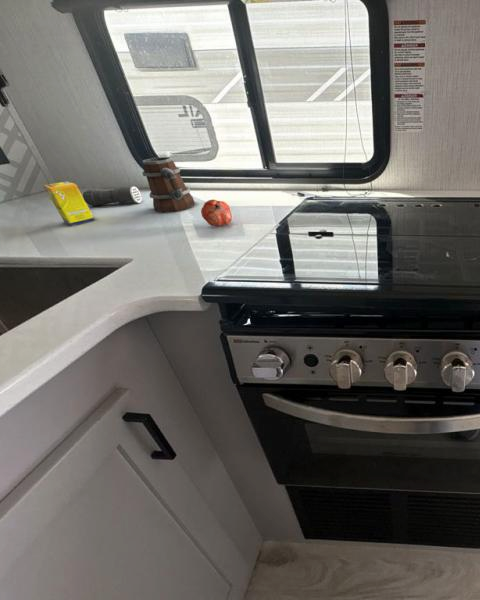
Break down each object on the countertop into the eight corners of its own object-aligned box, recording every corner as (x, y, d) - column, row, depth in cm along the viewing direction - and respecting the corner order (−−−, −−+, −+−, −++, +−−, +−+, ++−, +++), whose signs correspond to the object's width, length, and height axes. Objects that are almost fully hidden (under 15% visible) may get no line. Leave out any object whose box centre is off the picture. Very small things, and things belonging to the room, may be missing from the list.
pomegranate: (205, 233, 95) (202, 220, 86) (200, 209, 95) (196, 193, 86) (234, 231, 98) (233, 218, 89) (228, 207, 99) (228, 192, 90)
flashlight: (86, 208, 111) (77, 192, 108) (95, 204, 116) (87, 188, 113) (136, 204, 114) (129, 188, 111) (143, 200, 118) (136, 184, 115)
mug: (150, 208, 110) (129, 160, 102) (188, 200, 117) (172, 154, 109) (166, 217, 101) (144, 165, 93) (206, 208, 108) (190, 159, 100)
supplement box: (64, 222, 99) (42, 185, 93) (88, 217, 103) (68, 180, 97) (70, 226, 96) (48, 187, 90) (95, 220, 100) (75, 183, 94)
